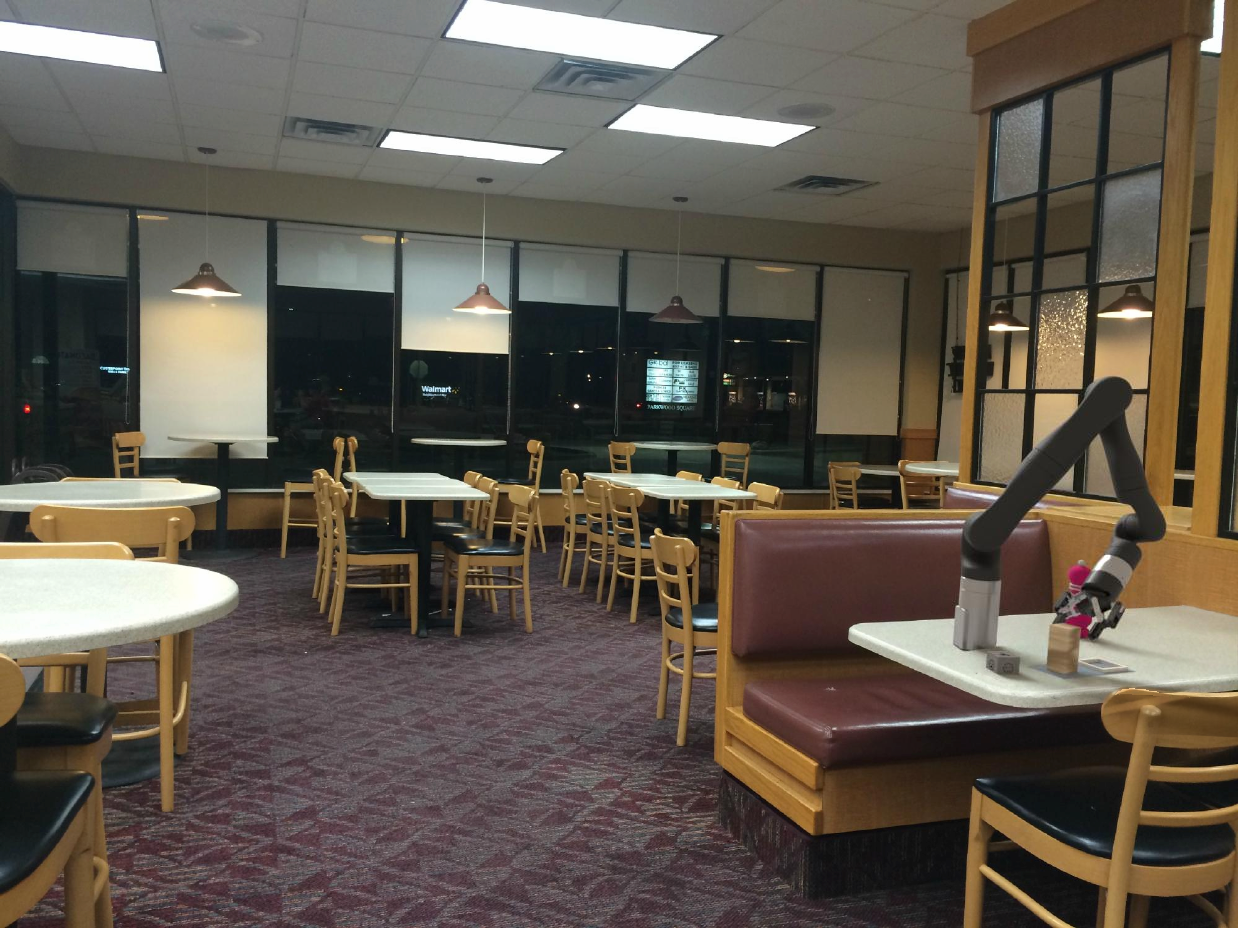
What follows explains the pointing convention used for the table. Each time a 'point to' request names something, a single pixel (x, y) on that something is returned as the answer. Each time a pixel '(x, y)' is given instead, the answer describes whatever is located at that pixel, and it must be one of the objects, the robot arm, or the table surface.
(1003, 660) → the dice cube
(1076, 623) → the pepper mill
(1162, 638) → the table surface
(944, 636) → the table surface
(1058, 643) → the wooden pillar
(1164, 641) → the table surface
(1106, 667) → the building board
